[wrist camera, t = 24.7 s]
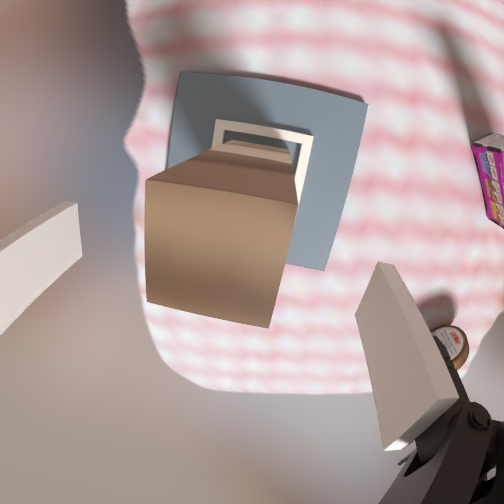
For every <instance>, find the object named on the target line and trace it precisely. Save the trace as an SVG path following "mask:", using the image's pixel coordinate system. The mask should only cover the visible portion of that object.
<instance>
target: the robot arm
mask: <svg viewBox="0 0 504 504" xmlns="http://www.w3.org/2000/svg"><path fill="white" fill-rule="evenodd" d="M81 257H82V248H81V240H80V230H79V218H78V205H77V203H76V202H70V201H65V202H63V203H61V204H59V205H58V206H56V207H54V208H52V209H50V210H48V211H47V212H45V213H43V214H41V215H40V216H38V217H36V218H35V219H33V220H31V221H30V222H28V223H27V224H25V225H23V226H22V227H20V228H18V229H17V230H15V231H14V232H12V233H11V234H9V235H8V236H6V237H5V238H3V239H1V240H0V335H1V334H2V333H3V332H4V331H5V330H6V329H7V328H8V326H9V325H10V324H11V323H12V322H13V321H14V320H15V319H16V318H17V317H18V316H19V315H20V314H21V313H22V312H23V311H24V310H25V309H26V308H27V307H28V306H29V305H30V304H31V303H32V302H33V301H34V300H35V299H36V298H37V297H38V296H39V295H40V294H41V293H42V292H43V291H44V290H45V289H46V288H47V287H48V286H49V285H51V283H53V282H54V281H55V280H56V279H57V278H58V277H59V276H60V275H61V274H62V273H63V272H65V271H66V270H67V269H68V268H69V267H70V266H71V265H72V264H73V263H75V262H76V261H77V260H78V259H79V258H81ZM355 317H356V321H357V324H358V328H359V332H360V336H361V340H362V344H363V349H364V353H365V357H366V361H367V366H368V370H369V375H370V380H371V384H372V389H373V394H374V399H375V405H376V410H377V416H378V421H379V427H380V433H381V440H382V446H383V451H388V450H400V449H404V448H406V447H407V446H408V445H409V444H411V443H412V442H413V441H414V440H415V442H416V447H417V448H416V449H415V450H414V451H412V452H411V453H410V454H408V455H407V456H406V457H404V458H403V459H402V460H401V461H400V462H399V463H398V465H401V464H402V463H404V462H405V461H406V463H405V465H404V467H403V468H402V470H401V471H400V473H399V474H398V476H397V478H396V479H395V481H394V482H393V484H392V485H391V487H390V488H389V490H388V491H387V493H386V494H385V495H384V497H383V498H382V500H381V501H380V502H379V504H504V421H503V422H500V421H495V420H491V417H490V414H489V413H488V411H487V410H486V409H485V408H484V407H483V406H482V405H480V404H478V403H476V402H470V401H469V398H468V396H467V393H466V391H465V389H464V386H463V384H462V382H461V379H460V377H459V375H458V372H457V370H456V369H455V366H454V364H453V361H452V360H450V358H451V357H450V355H449V353H448V351H447V349H446V347H445V345H444V344H443V343H442V342H441V341H440V340H439V339H438V337H437V336H433V335H432V334H431V332H430V330H429V328H428V326H427V324H426V322H425V320H424V318H423V316H422V314H421V313H420V311H419V309H418V307H417V305H416V303H415V301H414V299H413V298H412V296H411V294H410V292H409V290H408V289H407V287H406V285H405V283H404V282H403V280H402V278H401V276H400V275H399V273H398V271H397V270H396V268H395V266H394V265H392V264H387V263H382V262H377V265H376V267H375V270H374V272H373V275H372V277H371V279H370V282H369V284H368V287H367V289H366V291H365V294H364V296H363V298H362V300H361V303H360V305H359V307H358V309H357V311H356V314H355ZM495 468H496V476H494V477H493V478H491V479H490V480H487V474H488V473H489V472H491V471H492V470H494V469H495Z"/></svg>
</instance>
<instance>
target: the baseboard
mask: <svg viewBox="0 0 504 504" xmlns="http://www.w3.org/2000/svg"><path fill="white" fill-rule="evenodd" d="M367 107H368V104H367V103H363V102H360V101H357V100H354V99H350V98H347V97H343V96H339V95H336V94H332V93H328V92H324V91H320V90H316V89H311V88H307V87H302V86H297V85H292V84H287V83H282V82H276V81H270V80H264V79H257V78H250V77H242V76H234V75H224V74H213V73H198V72H180V75H179V81H178V87H177V93H176V100H175V107H174V114H173V122H172V129H171V138H170V147H169V157H168V167H167V169H169V168H171V167H173V166H175V165H177V164H179V163H181V162H183V161H186V160H188V159H190V158H192V157H195V156H197V155H199V154H201V153H204V152H206V151H208V149H211V148H212V142H213V135H214V128H215V122H216V119H220V120H228V121H235V122H242V123H248V124H255V125H261V126H266V127H272V128H277V129H282V130H287V131H292V132H297V133H302V134H306V135H310V136H314V138H313V143H312V147H311V152H310V157H309V161H308V166H307V171H306V175H305V180H304V184H303V188H302V193H301V197H300V202H299V206H298V210H297V214H296V219H295V223H294V227H293V231H292V236H291V240H290V244H289V248H288V253H287V257H286V261H285V264H290V265H295V266H300V267H305V268H311V269H316V270H321V271H324V270H325V267H326V264H327V261H328V258H329V255H330V251H331V248H332V245H333V242H334V238H335V235H336V232H337V228H338V225H339V221H340V218H341V215H342V211H343V207H344V204H345V200H346V196H347V193H348V189H349V185H350V181H351V177H352V174H353V170H354V166H355V161H356V157H357V153H358V149H359V145H360V140H361V136H362V131H363V127H364V122H365V117H366V112H367ZM231 140H237V141H243V142H249V143H255V144H261V145H267V146H272V147H277V148H282V149H287V150H290V156H291V162H292V167H293V173H294V177H295V173H296V168H297V163H298V158H299V154H300V149H301V143H297V142H292V141H287V140H282V139H277V138H272V137H266V136H261V135H255V134H249V133H243V132H236V131H229V130H225V136H224V142H223V143H226V142H228V141H231Z"/></svg>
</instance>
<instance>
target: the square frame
mask: <svg viewBox="0 0 504 504" xmlns="http://www.w3.org/2000/svg"><path fill="white" fill-rule="evenodd" d="M225 130H229V131H236V132H243V133H249V134H255V135H261V136H266V137H272V138H277V139H282V140H287V141H292V142H297V143H301V149H300V154H299V158H298V163H297V168H296V173H295V177H294V179H295V185H296V192H297V199H298V206H299V202H300V197H301V193H302V188H303V184H304V180H305V175H306V171H307V166H308V161H309V157H310V152H311V147H312V143H313V138H314V136H310V135H306V134H302V133H297V132H292V131H287V130H282V129H277V128H272V127H266V126H261V125H255V124H248V123H242V122H235V121H228V120H220V119H216V122H215V128H214V135H213V142H212V148H213V147H216V146H218V145H221V144H223V142H224V136H225ZM297 210H298V209H297ZM295 219H296V218H295ZM294 223H295V222H294Z"/></svg>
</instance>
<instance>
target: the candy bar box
mask: <svg viewBox="0 0 504 504" xmlns="http://www.w3.org/2000/svg"><path fill="white" fill-rule="evenodd" d="M471 147H472V150H473V154H474V157H475V161H476V165H477V168H478V172H479V176H480V180H481V185H482V189H483V194H484V199H485V205H486V211H487V217H488V219H489V220H491V221H493V222H494V223H496V224H497V225H499V226H500V227H501V228H503V229H504V135H499V134H493V133H492V134H490V135H487V136H486V137H484V138H481V139H479V140H477V141H474V142H472V143H471Z"/></svg>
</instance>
